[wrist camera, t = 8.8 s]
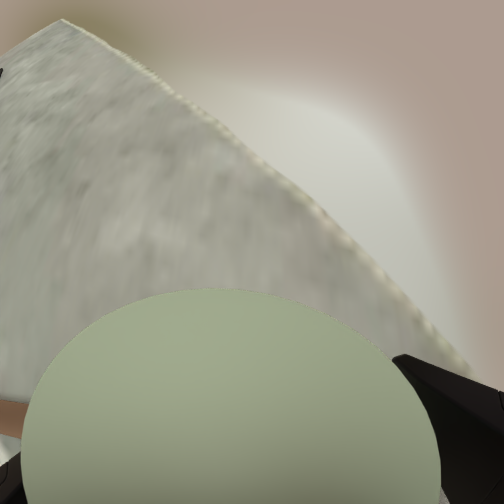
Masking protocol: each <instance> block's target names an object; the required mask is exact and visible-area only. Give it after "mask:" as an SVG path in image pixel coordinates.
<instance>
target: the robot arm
mask: <svg viewBox="0 0 504 504" xmlns="http://www.w3.org/2000/svg"><path fill="white" fill-rule="evenodd" d="M392 362H393V363H394V364H395V365H396V366H397V367H398V369H399V370H400V371H401V373H402V374H403V375H404V376H405V378H406V379H407V380H408V382H409V383H410V384H411V385H412V387H413V388H414V390H415V392H416V393H417V395H418V397H419V399H420V401H421V402H422V404H423V406H424V408H425V410H426V411H427V414H428V417H429V419H430V422H431V425H432V427H433V430H434V433H435V436H436V441H437V446H438V451H439V456H440V465H441V487H442V489H443V491H444V493H445V495H446V497H447V499H448V501H449V503H450V504H504V392H502V391H499V392H498V390H496V389H494V388H491V387H488V386H486V385H483V384H480V383H478V382H475V381H473V380H470V379H467V378H465V377H462V376H460V375H457V374H455V373H452V372H450V371H447V370H444V369H442V368H439V367H437V366H434V365H432V364H429V363H427V362H424V361H422V360H420V359H417V358H415V357H412V356H410V355H407V354H402V355H399V356H396V357H394V358H393V359H392ZM0 504H28V501H27V498H26V494H25V490H24V485H23V479H22V470H21V451H20V452H19V453H18V454H16V455H15V456H14V457H13V458H11V459H10V460H9V462H6V463H5V464H3V465H2V466H1V467H0Z"/></svg>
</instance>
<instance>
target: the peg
mask: <svg viewBox="0 0 504 504" xmlns="http://www.w3.org/2000/svg"><path fill="white" fill-rule="evenodd" d="M21 470H22V479H23V485H24V490H25V494H26V498H27V501H28V504H439V497H440V489H441V465H440V456H439V451H438V446H437V441H436V436H435V433H434V430H433V427H432V425H431V422H430V419H429V417H428V414H427V411H426V410H425V408H424V406H423V404H422V402H421V401H420V399H419V397H418V395H417V393H416V392H415V390H414V388H413V387H412V385H411V384H410V383H409V382H408V380H407V379H406V378H405V376H404V375H403V374H402V373H401V371H400V370H399V369H398V367H397V366H396V365H395V364H394V363H393V362H392V361H391V360H390V359H389V358H388V357H387V356H386V355H385V354H384V353H382V352H381V351H380V350H379V349H378V348H377V347H376V346H375V345H374V344H372V343H371V342H370V341H368V340H367V339H366V338H364V337H363V336H362V335H360V334H359V333H358V332H356V331H355V330H353V329H352V328H350V327H349V326H347V325H345V324H343V323H341V322H340V321H338V320H336V319H334V318H332V317H331V316H329V315H327V314H325V313H323V312H320V311H318V310H315V309H313V308H310V307H308V306H306V305H303V304H301V303H298V302H295V301H291V300H288V299H284V298H281V297H277V296H273V295H270V294H264V293H258V292H252V291H246V290H239V289H216V288H206V289H193V290H181V291H175V292H170V293H165V294H160V295H155V296H152V297H149V298H145V299H142V300H139V301H136V302H133V303H130V304H128V305H126V306H123V307H121V308H119V309H117V310H115V311H113V312H111V313H109V314H107V315H105V316H103V317H102V318H100V319H99V320H97V321H96V322H94V323H92V324H91V325H89V326H88V327H86V328H85V329H84V330H83V331H81V332H80V333H79V334H78V335H77V336H76V337H74V338H73V339H72V340H71V341H70V342H69V343H68V344H67V345H66V346H65V347H64V348H63V349H62V350H61V351H60V353H59V354H58V355H57V356H56V357H55V358H54V359H53V361H52V362H51V363H50V365H49V366H48V368H47V370H46V371H45V373H44V374H43V376H42V377H41V379H40V381H39V383H38V385H37V387H36V389H35V391H34V393H33V395H32V398H31V400H30V403H29V407H28V410H27V413H26V416H25V420H24V426H23V432H22V438H21Z"/></svg>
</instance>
